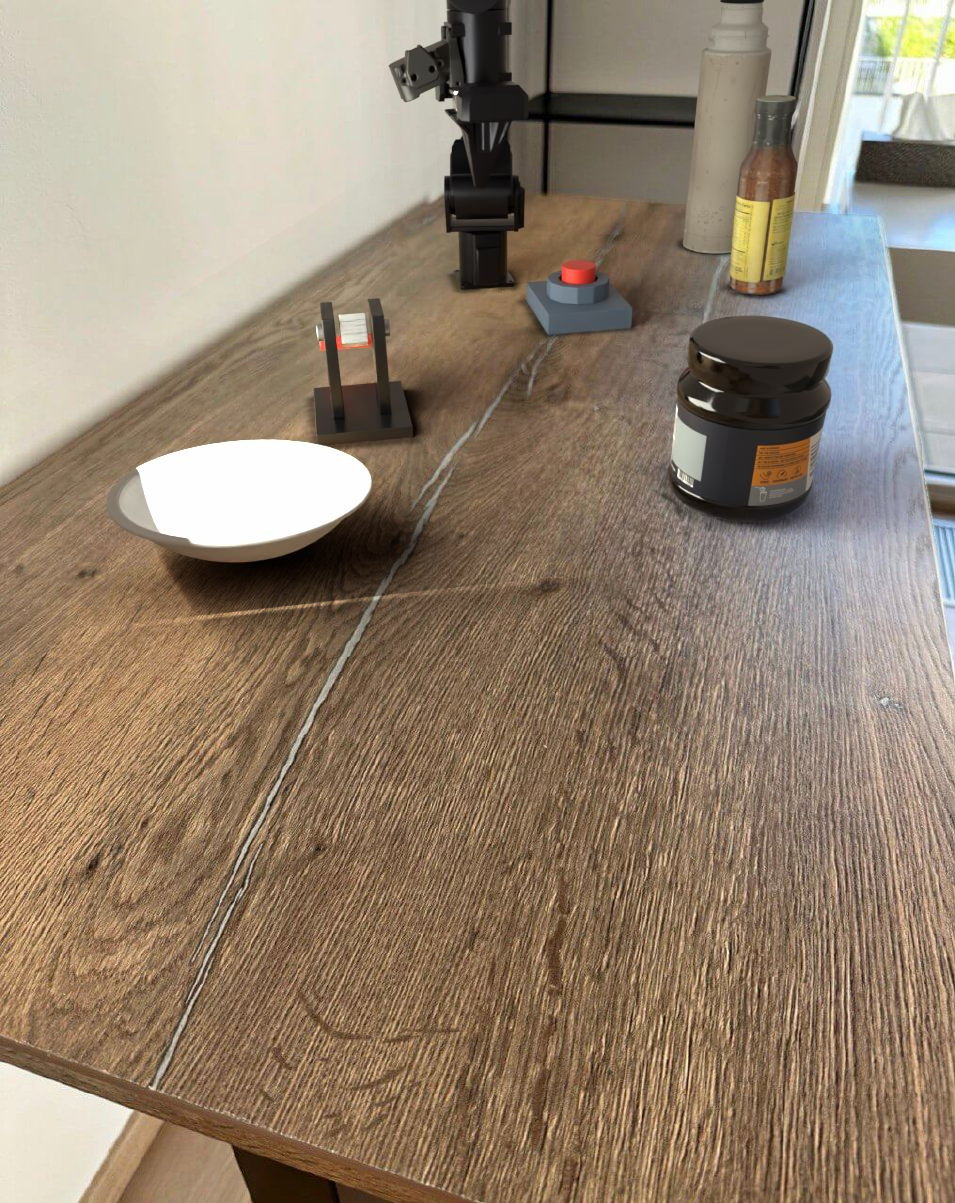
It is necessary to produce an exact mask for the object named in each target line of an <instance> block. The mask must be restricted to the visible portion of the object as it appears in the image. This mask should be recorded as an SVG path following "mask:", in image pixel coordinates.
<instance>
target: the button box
mask: <svg viewBox="0 0 955 1203" xmlns="http://www.w3.org/2000/svg"><path fill="white" fill-rule="evenodd" d="M610 280H611V278H610V277H609V276H608V275H607V273H605V272H603V271H598V270H596V275H595V282H592V283H589V284H569V283H565V282H562V269H561V270H558V271H554V272H551V273H550V274H549V275H548V276H547V278H546V280H541V281H540V280H539V281H527V282H526V303H527V304H528V306H529V308H530V309H531V311H532V312H533V314H534V315H535V317H536V318H537V321H538V322H539V323H540V325H541V326H542V328H543V329H544V331H545V332H546V334H547V335H548V336H549V335H550V336H551V335H562V334H574V333H575V334H577V333H585V332H586V333H587V332H597V331H598V332H601V331H610V330H624V329H625V330H626V329H632V322H633V311H634V310H633V307H632V306H631V304H629V303H628V301H627V300H626V299H625V298H624V297H623V296H622V295H621V293H619V291H618V290H617V289H616V288H615V287H614V286H613V285H612V284H611V282H610Z"/></svg>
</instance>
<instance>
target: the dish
mask: <svg viewBox="0 0 955 1203" xmlns="http://www.w3.org/2000/svg"><path fill="white" fill-rule="evenodd" d="M372 489H373V478H372V475H371V473H370V471H369V469H368V468H367V467H366V465H365V464H363V462H361V461H360V460H359V459H357V458H356V457H354V456H352V455H350V454H349V453H346V452H344V451H341V450H339V449H336V448H332V447H329V446H327V445H318V444H317V443H312V442H311V443H310V442H305V441H296V440H286V439H285V440H284V439H245V440H234V441H224V442H217V443H211V444H205V445H199V446H194V447H191V448H186V449H182V450H179V451H175V452H172V453H168V454H165V455H163V456H160V457H157V458H155V459H152V460H150V461H148V462H145V463H143V464H141V465H139V466H137V467H135V468H134V469H132V470H130V471H129V472H127V473H126V474H124V475H123V476H122V477H121V478H120V479H119V480H117V481H116V482H115V483H114V484H113V486H112V487H111V488H110V490H109V492H108V494H107V497H106V504H105V505H106V510H107V513H108V515H109V517H110V518H111V519H112V521H113V522H114V523H115V524H116V525H117V526H118V527H120V528H121V529H123V530H124V531H126V532H128V533H129V534H131V535H134V536H136V537H138V538H141V539H144V540H148V541H150V542H152V543H154V544H156V545H158V546H160V547H162V548H164V549H166V550H168V551H171V552H174V553H177V554H180V555H181V556H185V557H189V558H194V559H198V560H203V561H209V562H217V563H248V562H249V563H251V562H258V561H265V560H270V559H274V558H275V559H276V558H279V557H282V556H285V555H288V554H291V553H295V552H297V551H299V550H302V549H304V548H305V547H308V546H309V545H311V544H314V543H315V542H317V541H318V540H319V539H321V538H323V537H324V536H326V535H327V534H329V533H330V532H331V531H332V530H333V529H335V528H336V527H337V526H338V525H339V524H341V523H342V521H343V520H345V519H346V518H347V517H349V516H351V515H352V514H354V513H355V512H356V511H357V510H359V509H360V508H361V507H362V506H363V505H364V503H365V502H366V501H367V500H368V498H369V496H370V495H371V492H372Z"/></svg>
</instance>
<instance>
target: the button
mask: <svg viewBox="0 0 955 1203" xmlns="http://www.w3.org/2000/svg"><path fill="white" fill-rule="evenodd" d="M561 264H562V265H561V270H562V282H565V283H569V284H589V283H592V282H595V275H596V271H597V264H596V263H595V262H593V261H590V260H583V259H573V260H568V261H565V262H563V263H561Z"/></svg>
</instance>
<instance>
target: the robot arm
mask: <svg viewBox="0 0 955 1203" xmlns="http://www.w3.org/2000/svg"><path fill="white" fill-rule="evenodd" d="M445 2H446V3H445V4H446V21H443V25H441V26H440V40H439V41H436V42H434V43H432V44H430V45H426V46H425V47H424V46H422V45H421V44H417V45H416V47H414V48H411V49H406V50H405V52H404V56H403V57H401V58H399V59H397V60H395V61H393V62H391V63H390V64H388V68H389V71H390V73H391V76H392V78H393V81H394V83H395V84H394V85H395V86H396V89H397V91H398V95H399V97H400V98H401V100H402V101H403V102H404V103H409V102H411V101H414V100H416V99H418V98H420V96H421V94H424V93H426V92H428V91H430V90H433V89H434V93H435V96H434V97H435V100H436V101H437V102H439V103H443V102H446V99H447V100H448V99H452V108H446V109H444V113H445V114H446V115H447V116H448V117H449V118H450V119H451V120H452V121H453V122H454V123H455V124H456V125H457V126H458V127H459V129H460V132H461V136H460V138H455V139H454V142H453V143H452V145H451V152H450V155H449V175H444V176H443V195H444V196H443V197H444V198H443V199H444V214H445V216H444V217H445V231H446V232H445V233H447V234H452V233H458V261H459V269H454V270H453V277H454V279H455V281H456V282H457V283H456V284H458V287H459V289H460V290H476V289H477V290H479V289H491V288H492V289H493V288H505V287H515V286H516V285H515V283H516V282H515V279H514V277H513V276H512V274H510V272H509V270H508V232H514V233H519V230H520V229H524V228H525V206H526V205H525V204H526V202H525V200H526V188H525V187H524V186H523V184H522V183H521V180H520V175H519V174H517V173H516V174H513V173H514V172H513V170H514V169H513V152H512V150H511V144H510V143H509V140H508V139H507V138H506V137H507V134H508V132H509V129H510V127H511V125H512V123H513V122H514V120H525V119H529V97H530V96H529V94H528V93H527V92H526V91H525V90H524V88H522V86H521V85H520V84H518V83H516V82H515V81H513V72H512V71H510V70H508V36H512V35H513V22H511V21H508V8H509V6H510V5H511V3H512V0H445ZM511 214H513V215H511Z"/></svg>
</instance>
